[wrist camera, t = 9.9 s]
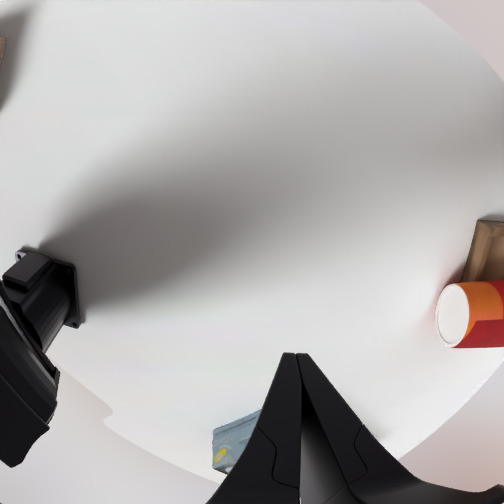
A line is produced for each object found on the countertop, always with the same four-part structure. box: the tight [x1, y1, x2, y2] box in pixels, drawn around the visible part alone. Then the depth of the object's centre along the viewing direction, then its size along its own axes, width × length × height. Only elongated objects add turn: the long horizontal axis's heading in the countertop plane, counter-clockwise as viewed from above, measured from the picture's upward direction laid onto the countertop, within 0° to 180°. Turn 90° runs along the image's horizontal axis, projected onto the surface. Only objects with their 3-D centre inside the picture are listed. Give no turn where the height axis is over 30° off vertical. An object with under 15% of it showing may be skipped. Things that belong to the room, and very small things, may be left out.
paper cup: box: [435, 280, 504, 348], centre depth 20 cm, size 8×8×14 cm
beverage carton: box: [212, 410, 301, 497], centre depth 30 cm, size 8×19×7 cm, turn 39°
